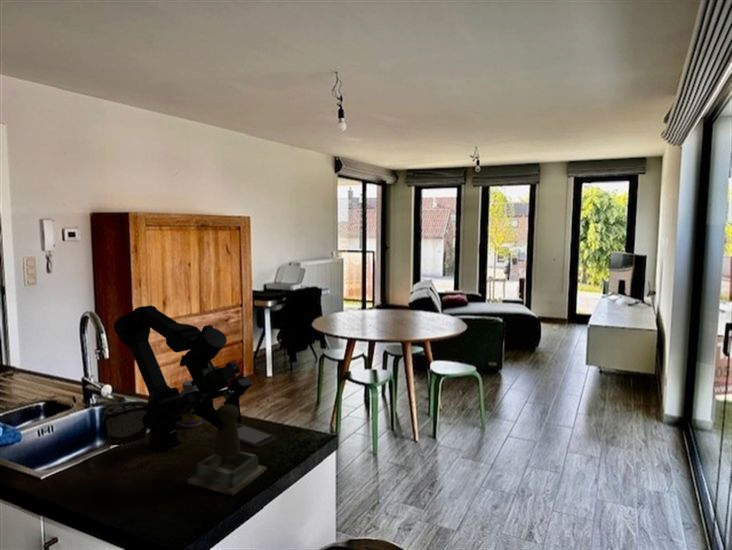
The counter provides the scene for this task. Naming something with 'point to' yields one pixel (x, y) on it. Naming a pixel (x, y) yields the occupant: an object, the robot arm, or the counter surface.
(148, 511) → the counter surface
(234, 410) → the cork
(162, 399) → the robot arm
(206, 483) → the collar holder
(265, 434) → the smartphone
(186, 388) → the supplement bottle
